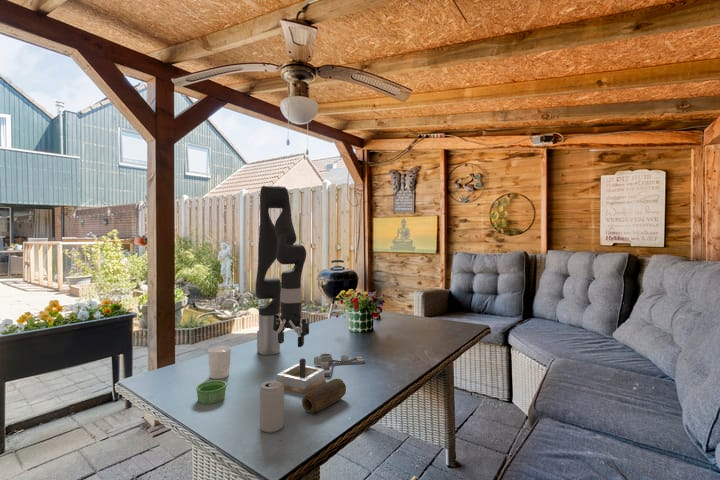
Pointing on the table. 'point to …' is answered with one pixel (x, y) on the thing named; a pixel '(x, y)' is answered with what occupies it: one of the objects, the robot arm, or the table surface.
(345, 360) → the pulley system
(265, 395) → the beverage can
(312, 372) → the link
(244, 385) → the table surface
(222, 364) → the white cup
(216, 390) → the ramekin
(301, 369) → the wooden board with peg
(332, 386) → the brown cylinder
